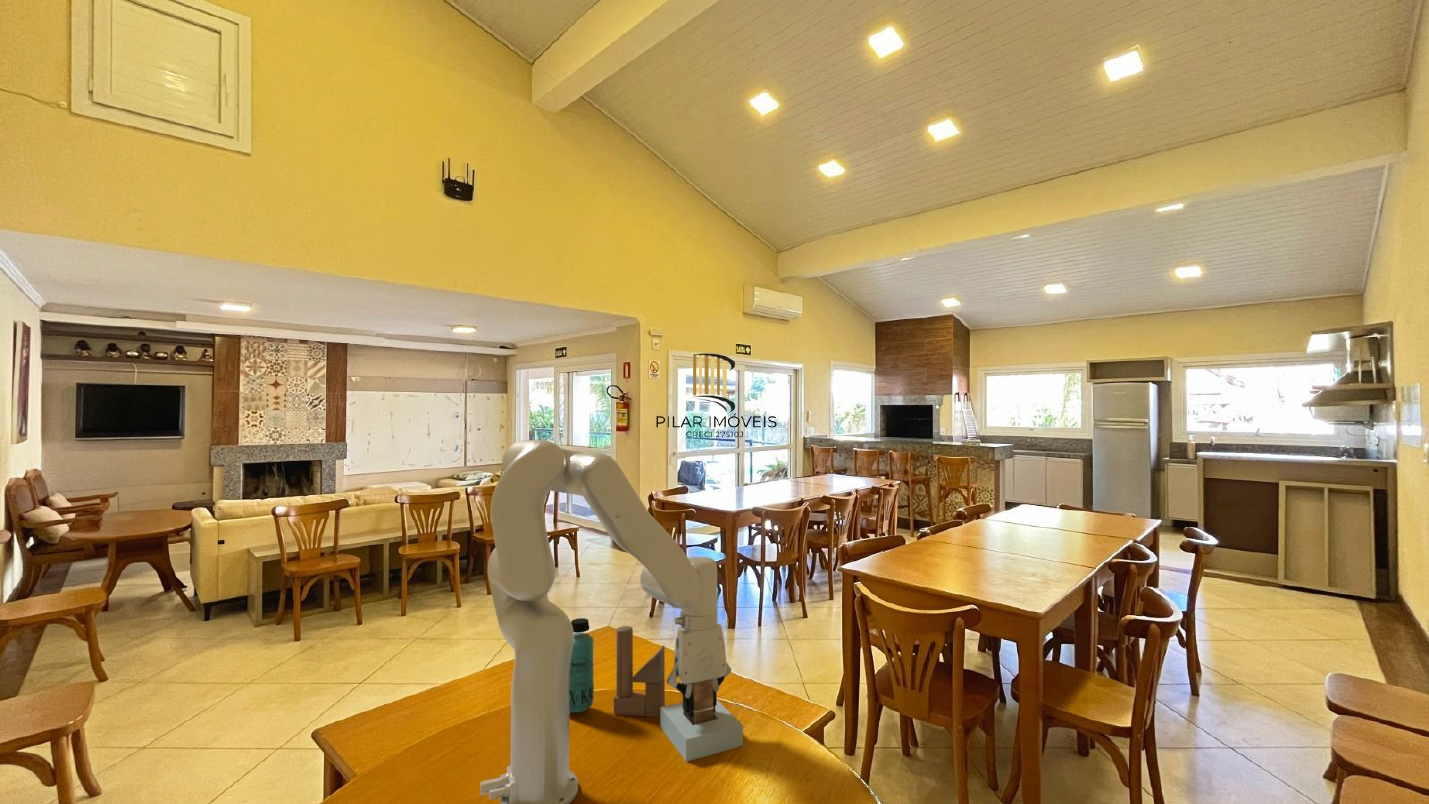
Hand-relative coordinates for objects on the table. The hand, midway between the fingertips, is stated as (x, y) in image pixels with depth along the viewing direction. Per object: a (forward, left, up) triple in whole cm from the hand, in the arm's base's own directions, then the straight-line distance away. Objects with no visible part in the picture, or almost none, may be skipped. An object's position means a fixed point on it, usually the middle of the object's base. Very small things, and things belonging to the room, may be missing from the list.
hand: (699, 711), depth 113 cm
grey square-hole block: (0, 0, -5) cm, 5 cm away
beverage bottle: (-20, +21, -5) cm, 29 cm away
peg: (0, 0, -3) cm, 3 cm away
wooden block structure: (-8, +15, -5) cm, 18 cm away
